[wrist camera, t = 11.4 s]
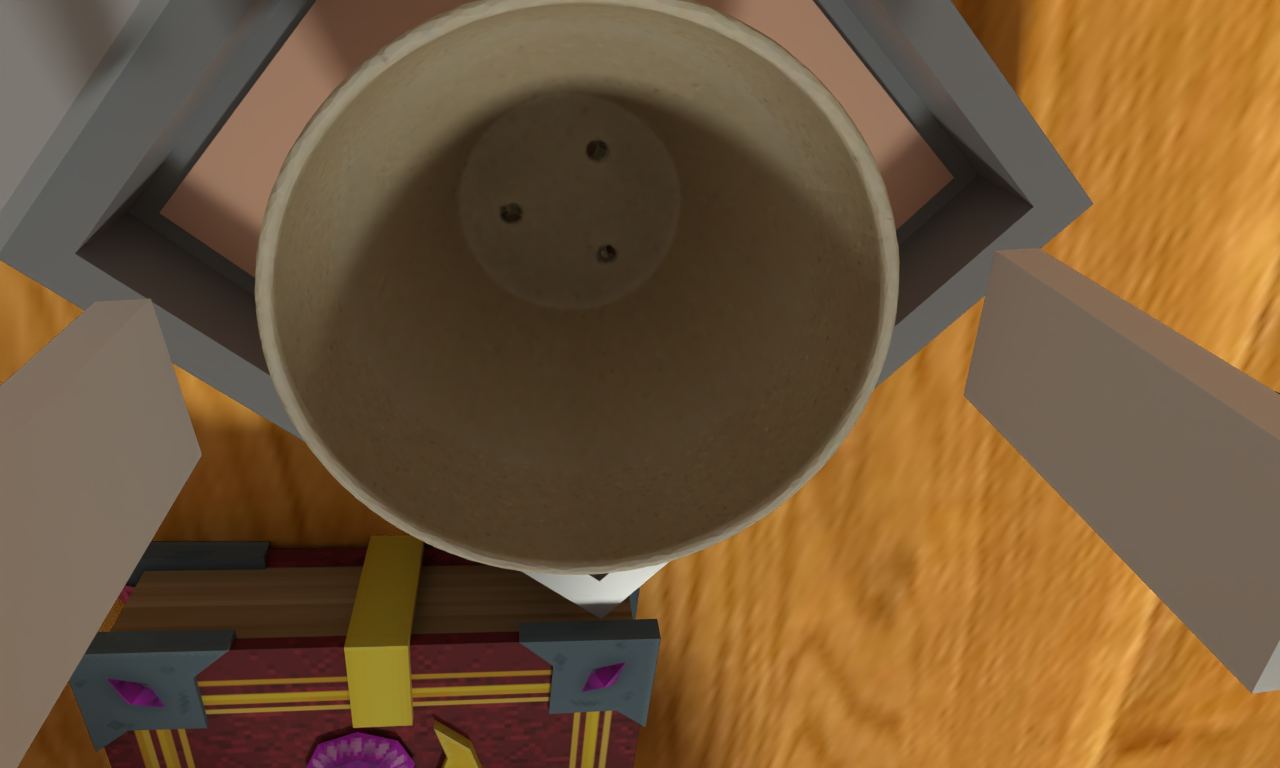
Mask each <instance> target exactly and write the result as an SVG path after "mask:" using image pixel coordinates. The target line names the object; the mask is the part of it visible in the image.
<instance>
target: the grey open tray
mask: <svg viewBox="0 0 1280 768" xmlns="http://www.w3.org/2000/svg"><path fill="white" fill-rule="evenodd" d="M471 1H474V0H0V260H1V261H3V262H4V263H6V264H8V265H9V266H11V267H13V268H14V269H16V270H18V271H19V272H21V273H23V274H25V275H26V276H28V277H30V278H31V279H33V280H35V281H36V282H38V283H40V284H41V285H43V286H45V287H46V288H48V289H50V290H51V291H53V292H55V293H56V294H58V295H60V296H61V297H63V298H65V299H66V300H68V301H70V302H71V303H73V304H75V305H76V306H78V307H80V308H81V309H83V310H86V309H87V308H88V307H90V306H91V305H92V304H93V303H94V302H100V301H117V300H135V299H151V301H152V304H153V307H154V310H155V313H156V316H157V319H158V322H159V325H160V328H161V331H162V334H163V337H164V340H165V343H166V346H167V349H168V352H169V356H170V359H171V362H172V363H173V364H175V365H177V366H178V367H180V368H182V369H184V370H185V371H187V372H189V373H190V374H192V375H194V376H195V377H197V378H199V379H200V380H202V381H204V382H205V383H207V384H209V385H210V386H212V387H214V388H215V389H217V390H219V391H220V392H222V393H224V394H225V395H227V396H229V397H230V398H232V399H234V400H235V401H237V402H239V403H240V404H242V405H244V406H245V407H247V408H249V409H250V410H252V411H254V412H255V413H257V414H259V415H260V416H262V417H264V418H266V419H267V420H269V421H271V422H272V423H274V424H276V425H277V426H279V427H281V428H282V429H284V430H286V431H287V432H289V433H291V434H292V435H294V436H296V437H297V438H299V439H301V440H302V441H304V440H303V438H302V437H301V435H300V434H299V432H298V430H297V429H296V427H295V426H294V425H293V423H292V421H291V420H290V418H289V416H288V414H287V413H286V411H285V409H284V407H283V406H282V404H281V401H280V399H279V396H278V393H277V391H276V389H275V387H274V384H273V382H272V379H271V376H270V373H269V370H268V367H267V363H266V360H265V357H264V353H263V349H262V342H261V340H260V335H259V329H258V322H257V315H256V303H255V271H256V253H257V248H258V242H259V236H260V230H261V224H262V221H263V217H264V213H265V209H266V205H267V202H268V199H269V196H270V194H271V191H272V188H273V185H274V183H275V181H276V179H277V177H278V174H279V172H280V169H281V166H282V164H283V162H284V160H285V158H286V156H287V155H288V153H289V151H290V149H291V148H292V146H293V144H294V143H295V141H296V140H297V138H298V137H299V135H300V133H301V132H302V130H303V129H304V127H305V125H306V124H307V122H308V121H309V120H310V119H311V117H312V116H313V115H314V113H315V112H316V111H317V110H318V108H319V107H320V106H321V104H322V103H323V102H324V101H325V100H326V98H327V97H328V96H329V95H330V94H331V92H332V91H333V90H334V89H335V88H336V87H337V86H338V85H339V84H340V83H341V82H342V81H343V80H344V79H345V78H346V77H347V76H348V75H349V74H350V73H351V72H352V71H354V70H355V69H356V68H357V67H358V66H359V65H360V64H361V63H363V62H364V61H365V60H366V59H367V58H368V57H370V56H371V55H372V54H374V53H375V52H376V51H378V50H379V49H380V48H382V47H383V46H385V45H386V44H387V43H389V42H390V41H392V40H393V39H395V38H397V37H398V36H400V35H402V34H403V33H405V32H406V31H408V30H410V29H411V28H413V27H414V26H416V25H418V24H420V23H422V22H424V21H426V20H428V19H430V18H431V17H433V16H436V15H438V14H441V13H443V12H446V11H448V10H450V9H453V8H455V7H457V6H459V5H462V4H465V3H468V2H471ZM693 1H696V2H700V3H703V4H705V5H708V6H710V7H713V8H715V9H717V10H720V11H722V12H724V13H726V14H728V15H730V16H732V17H734V18H736V19H738V20H740V21H742V22H744V23H746V24H748V25H750V26H751V27H753V28H755V29H757V30H759V31H760V32H762V33H763V34H765V35H767V36H768V37H770V38H771V39H773V40H774V41H776V42H777V43H778V44H780V45H781V46H782V47H784V48H785V49H787V50H788V51H789V52H790V53H791V54H792V55H793V56H794V57H795V58H797V59H798V60H799V61H800V62H801V63H803V64H804V65H805V66H806V67H807V68H809V69H810V70H811V71H812V72H813V73H814V74H815V75H816V76H817V78H818V79H819V80H820V81H821V82H822V83H823V84H824V85H825V86H826V87H827V88H828V89H829V90H830V91H831V93H832V94H833V95H834V97H835V98H836V99H837V100H838V101H839V102H840V103H841V105H842V106H843V108H844V109H845V111H846V112H847V113H848V114H849V116H850V117H851V118H852V120H853V121H854V123H855V124H856V126H857V128H858V129H859V131H860V133H861V134H862V136H863V138H864V139H865V141H866V143H867V145H868V147H869V149H870V151H871V153H872V155H873V157H874V159H875V161H876V164H877V166H878V169H879V171H880V174H881V176H882V178H883V181H884V184H885V187H886V189H887V193H888V196H889V200H890V204H891V207H892V211H893V216H894V221H895V228H896V237H897V241H898V246H899V262H900V263H899V295H898V302H897V313H896V320H895V325H894V329H893V334H892V339H891V343H890V346H889V349H888V353H887V356H886V360H885V363H884V366H883V368H882V371H881V373H880V376H879V378H878V381H877V383H876V385H875V388H876V387H877V386H878V385H879V384H880V383H882V382H883V381H884V380H885V379H886V378H888V377H889V376H890V375H891V374H892V373H893V372H895V371H896V370H897V369H898V368H899V367H901V366H902V365H903V364H904V363H905V362H907V361H908V360H909V359H910V358H911V357H912V356H914V355H915V354H916V353H917V352H918V351H920V350H921V349H922V348H923V347H924V346H926V345H927V344H928V343H929V342H930V341H931V340H933V339H934V338H935V337H936V336H937V335H939V334H940V333H941V332H942V331H943V330H944V329H946V328H947V327H948V326H949V325H950V324H952V323H953V322H954V321H955V320H956V319H958V318H959V317H960V316H961V315H962V314H963V313H965V312H966V311H967V310H968V309H969V308H971V307H972V306H973V305H974V304H975V303H976V302H978V301H979V300H980V299H981V298H982V297H984V296H985V295H986V291H987V286H988V281H989V277H990V272H991V268H992V263H993V258H994V254H995V250H1012V249H1030V248H1042V247H1043V246H1044V245H1045V244H1046V243H1048V242H1049V241H1050V240H1051V239H1052V238H1054V237H1055V236H1056V235H1057V234H1058V233H1059V232H1061V231H1062V230H1063V229H1064V228H1065V227H1067V226H1068V225H1069V224H1070V223H1071V222H1073V221H1074V220H1075V219H1076V218H1077V217H1078V216H1080V215H1081V214H1082V213H1083V212H1084V211H1086V210H1087V209H1088V208H1089V207H1090V206H1091V205H1093V203H1092V201H1091V200H1090V198H1089V197H1088V195H1087V194H1086V193H1085V191H1084V190H1083V188H1082V187H1081V185H1080V184H1079V183H1078V181H1077V180H1076V178H1075V177H1074V175H1073V174H1072V173H1071V171H1070V170H1069V168H1068V167H1067V165H1066V164H1065V163H1064V161H1063V160H1062V158H1061V157H1060V155H1059V154H1058V153H1057V151H1056V150H1055V148H1054V147H1053V145H1052V144H1051V143H1050V141H1049V140H1048V138H1047V137H1046V135H1045V134H1044V133H1043V131H1042V130H1041V128H1040V127H1039V125H1038V124H1037V123H1036V121H1035V120H1034V118H1033V117H1032V115H1031V114H1030V113H1029V111H1028V110H1027V108H1026V107H1025V106H1024V104H1023V103H1022V101H1021V100H1020V98H1019V97H1018V96H1017V94H1016V93H1015V91H1014V90H1013V88H1012V87H1011V86H1010V84H1009V83H1008V81H1007V80H1006V78H1005V77H1004V76H1003V74H1002V73H1001V71H1000V70H999V68H998V67H997V66H996V64H995V63H994V61H993V60H992V58H991V57H990V56H989V54H988V53H987V51H986V50H985V48H984V47H983V46H982V44H981V43H980V41H979V40H978V38H977V37H976V36H975V34H974V33H973V31H972V30H971V28H970V27H969V26H968V24H967V23H966V21H965V20H964V18H963V17H962V16H961V14H960V13H959V11H958V10H957V8H956V7H955V6H954V4H953V3H952V1H951V0H693ZM596 147H597V146H596V142H592V143H591V144H590V145H589V146H588V149H587V151H588V155H589V156H591V155H593V154H594V153H595V151H596ZM519 218H520V216H519V215H517V214H511V215H509V216H508V217H507V218H506V221H516V220H518V219H519ZM606 250H607V252H608V253H610V254H615V250H614V249H613V248H612V247H611V246H609V245H608V246H607V249H606ZM875 388H874V389H875ZM304 442H305V441H304ZM667 563H668V562H666V563H662V564H659V565H656V566H648V567H644V568H639V569H634V570H629V571H620V572H614V573H605V574H587V575H556V574H539V573H532V572H523V573H525V574H527V575H528V576H530V577H532V578H533V579H535V580H537V581H538V582H540V583H542V584H543V585H545V586H547V587H548V588H550V589H552V590H553V591H555V592H557V593H558V594H560V595H562V596H563V597H565V598H567V599H568V600H570V601H572V602H573V603H575V604H577V605H578V606H580V607H582V608H583V609H585V610H587V611H589V612H590V613H592V614H594V615H595V616H597V617H599V618H600V619H602V618H603V617H604V616H605V615H607V614H608V613H609V612H610V611H611V610H613V609H614V608H615V607H616V606H617V605H618V604H620V603H621V602H622V601H623V600H624V599H626V598H627V597H628V596H629V595H630V594H632V593H633V592H634V591H635V590H636V589H637V588H639V587H640V586H641V585H642V584H643V583H645V582H646V581H647V580H648V579H649V578H650V577H652V576H653V575H654V574H655V573H656V572H658V571H659V570H660V569H661V568H662V567H664V566H665V565H666V564H667Z"/></svg>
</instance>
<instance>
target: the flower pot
mask: <svg viewBox="0 0 1280 768" xmlns="http://www.w3.org/2000/svg"><path fill="white" fill-rule="evenodd" d="M592 142H596V146H597V147H596V151H595V153H594V154H593V155H591V156H589V155H588V151H587V149H588V146H589V145H590V144H591V143H592ZM511 214H517V215H519V216H520V218H519V219H518V220H516V221H506V218H507V217H508V216H509V215H511ZM608 245H609V246H611V247H612V248H613V249H614V250H615V254H610V253H608V252H607V250H606V249H607V246H608ZM899 263H900V262H899V246H898V241H897V237H896V228H895V221H894V216H893V211H892V207H891V204H890V200H889V196H888V193H887V189H886V187H885V184H884V181H883V178H882V176H881V174H880V171H879V169H878V166H877V164H876V161H875V159H874V157H873V155H872V153H871V151H870V149H869V147H868V145H867V143H866V141H865V139H864V138H863V136H862V134H861V133H860V131H859V129H858V128H857V126H856V124H855V123H854V121H853V120H852V118H851V117H850V116H849V114H848V113H847V112H846V111H845V109H844V108H843V106H842V105H841V103H840V102H839V101H838V100H837V99H836V98H835V97H834V95H833V94H832V93H831V91H830V90H829V89H828V88H827V87H826V86H825V85H824V84H823V83H822V82H821V81H820V80H819V79H818V78H817V76H816V75H815V74H814V73H813V72H812V71H811V70H810V69H809V68H807V67H806V66H805V65H804V64H803V63H801V62H800V61H799V60H798V59H797V58H795V57H794V56H793V55H792V54H791V53H790V52H789V51H788V50H787V49H785V48H784V47H782V46H781V45H780V44H778V43H777V42H776V41H774V40H773V39H771V38H770V37H768V36H767V35H765V34H763V33H762V32H760V31H759V30H757V29H755V28H753V27H751V26H750V25H748V24H746V23H744V22H742V21H740V20H738V19H736V18H734V17H732V16H730V15H728V14H726V13H724V12H722V11H720V10H717V9H715V8H713V7H710V6H708V5H705V4H703V3H700V2H696V1H693V0H474V1H471V2H468V3H465V4H462V5H459V6H457V7H455V8H453V9H450V10H448V11H446V12H443V13H441V14H438V15H436V16H433V17H431V18H430V19H428V20H426V21H424V22H422V23H420V24H418V25H416V26H414V27H413V28H411V29H410V30H408V31H406V32H405V33H403V34H402V35H400V36H398V37H397V38H395V39H393V40H392V41H390V42H389V43H387V44H386V45H385V46H383V47H382V48H380V49H379V50H378V51H376V52H375V53H374V54H372V55H371V56H370V57H368V58H367V59H366V60H365V61H364V62H363V63H361V64H360V65H359V66H358V67H357V68H356V69H355V70H354V71H352V72H351V73H350V74H349V75H348V76H347V77H346V78H345V79H344V80H343V81H342V82H341V83H340V84H339V85H338V86H337V87H336V88H335V89H334V90H333V91H332V92H331V94H330V95H329V96H328V97H327V98H326V100H325V101H324V102H323V103H322V104H321V106H320V107H319V108H318V110H317V111H316V112H315V113H314V115H313V116H312V117H311V119H310V120H309V121H308V122H307V124H306V125H305V127H304V129H303V130H302V132H301V133H300V135H299V137H298V138H297V140H296V141H295V143H294V144H293V146H292V148H291V149H290V151H289V153H288V155H287V156H286V158H285V160H284V162H283V164H282V166H281V169H280V172H279V174H278V177H277V179H276V181H275V183H274V185H273V188H272V191H271V194H270V196H269V199H268V202H267V205H266V209H265V213H264V217H263V221H262V224H261V230H260V236H259V242H258V248H257V253H256V271H255V303H256V315H257V322H258V329H259V335H260V340H261V342H262V349H263V353H264V357H265V360H266V363H267V367H268V370H269V373H270V376H271V379H272V382H273V384H274V387H275V389H276V391H277V393H278V396H279V399H280V401H281V404H282V406H283V407H284V409H285V411H286V413H287V414H288V416H289V418H290V420H291V421H292V423H293V425H294V426H295V427H296V429H297V430H298V432H299V434H300V435H301V437H302V438H303V440H304V441H305V443H306V444H307V446H308V447H309V448H310V450H311V451H312V452H313V454H314V455H315V456H316V457H317V458H318V460H319V461H320V462H321V463H322V464H323V465H324V467H325V468H326V469H327V470H328V471H329V472H330V474H331V475H332V476H333V477H334V478H335V479H336V480H337V481H338V482H339V483H340V484H341V485H342V486H343V487H344V488H345V489H347V490H348V491H349V492H350V493H351V494H352V495H353V496H354V497H355V498H356V499H358V500H359V501H360V502H362V503H363V504H364V505H366V506H367V507H368V508H369V509H370V510H372V511H373V512H375V513H376V514H378V515H379V516H380V517H382V518H383V519H385V520H386V521H388V522H389V523H391V524H393V525H394V526H396V527H397V528H399V529H401V530H403V531H404V532H406V533H408V534H410V535H412V536H414V537H415V538H417V539H419V540H422V541H424V542H425V543H427V544H429V545H431V546H434V547H436V548H438V549H440V550H444V551H446V552H448V553H451V554H454V555H457V556H460V557H463V558H465V559H468V560H471V561H475V562H480V563H483V564H487V565H490V566H495V567H500V568H505V569H511V570H517V571H522V572H532V573H539V574H556V575H587V574H605V573H614V572H620V571H629V570H634V569H639V568H644V567H648V566H656V565H659V564H662V563H666V562H670V561H673V560H676V559H679V558H683V557H685V556H688V555H691V554H693V553H696V552H698V551H701V550H704V549H706V548H708V547H710V546H712V545H714V544H717V543H719V542H722V541H724V540H726V539H728V538H730V537H732V536H734V535H736V534H738V533H739V532H741V531H743V530H744V529H746V528H747V527H749V526H751V525H752V524H754V523H755V522H757V521H758V520H760V519H762V518H764V517H765V516H767V515H768V514H770V513H771V512H772V511H774V510H775V509H776V508H778V507H779V506H781V505H782V504H783V503H784V502H785V501H787V500H788V499H789V498H790V497H791V496H793V495H794V494H795V493H796V492H797V491H799V490H800V489H801V488H802V487H803V486H804V485H805V484H806V483H807V482H808V481H809V480H810V479H811V478H812V477H813V476H814V475H815V474H816V473H817V472H818V471H819V470H820V469H821V468H822V467H823V466H824V465H825V464H826V462H827V461H828V460H829V459H830V458H831V457H832V455H833V454H834V453H835V452H836V450H837V449H838V448H839V446H840V445H841V444H842V442H843V441H844V440H845V439H846V437H847V436H848V434H849V432H850V431H851V430H852V428H853V427H854V425H855V424H856V422H857V420H858V419H859V417H860V415H861V413H862V411H863V409H864V407H865V406H866V404H867V402H868V400H869V398H870V396H871V394H872V392H873V390H874V388H875V385H876V383H877V381H878V378H879V376H880V373H881V371H882V368H883V366H884V363H885V360H886V356H887V353H888V349H889V346H890V343H891V339H892V334H893V329H894V325H895V320H896V313H897V302H898V295H899Z"/></svg>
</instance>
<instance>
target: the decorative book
mask: <svg viewBox="0 0 1280 768" xmlns="http://www.w3.org/2000/svg"><path fill="white" fill-rule="evenodd" d="M269 544H270V542H150V544H149V546H148V547H147V549H146V551H145V552H144V554H143V556H142V557H141V559H140V561H139V562H138V564H137V566H136V568H135V569H134V571H133V573H132V574H131V576H130V578H129V579H128V581H127V583H126V586H124V588H123V589H122V591H121V593H120V595H119V596H118V598H119V599H120V600H121V601H123V602H124V603H126V604H125V606H124V608H123V610H122V611H121V613H120V615H119V617H118V619H117V620H116V622H115V624H114V626H113V627H112V629H111V631H110V632H97V633H96V635H95V637H94V639H93V640H92V642H91V644H90V645H89V647H88V649H87V650H86V652H85V654H84V655H83V657H82V659H81V661H80V662H79V664H78V666H77V667H76V669H75V671H74V672H73V674H72V676H71V677H70V679H69V682H70V685H71V688H72V690H73V693H74V695H75V698H76V701H77V703H78V706H79V709H80V711H81V714H82V717H83V719H84V722H85V724H86V727H87V730H88V732H89V735H90V738H91V740H92V743H93V746H94V748H95V751H96V752H97V751H98V750H100V749H101V748H103V747H105V750H106V753H107V755H108V758H109V761H110V764H111V767H112V768H633V766H634V759H635V752H636V746H637V739H638V733H639V726H640V724H641V725H642V726H644V727H646V722H647V716H648V710H649V704H650V698H651V692H652V686H653V681H654V675H655V669H656V663H657V657H658V651H659V645H660V639H661V638H660V633H659V627H658V622H657V619H640V620H635V617H636V610H637V603H638V595H639V588H640V587H639V588H637V589H636V590H635V591H634V592H633V593H632V594H630V595H629V596H628V597H627V598H626V599H624V600H623V601H622V602H621V603H620V604H618V605H617V606H616V607H615V608H614V609H613V610H611V611H610V612H609V613H608V614H607V615H605V616H604V617H603V618H602V619H600V618H599V617H597V616H595V615H594V614H592V613H590V612H589V611H587V610H585V609H583V608H582V607H580V606H578V605H577V604H575V603H573V602H572V601H570V600H568V599H567V598H565V597H563V596H562V595H560V594H558V593H557V592H555V591H553V590H552V589H550V588H548V587H547V586H545V585H543V584H542V583H540V582H538V581H537V580H535V579H533V578H532V577H530V576H528V575H527V574H525V573H523V572H522V571H517V570H511V569H505V568H500V567H495V566H490V565H487V564H483V563H480V562H475V561H471V560H468V559H465V558H463V557H460V556H457V555H454V554H451V553H448V552H446V551H444V550H440V549H438V548H425V542H424V541H422V540H419V539H417V538H415V537H414V536H412V535H391V536H370V540H369V545H368V548H348V549H269Z"/></svg>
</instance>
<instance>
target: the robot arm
mask: <svg viewBox="0 0 1280 768" xmlns="http://www.w3.org/2000/svg"><path fill="white" fill-rule="evenodd" d="M964 396H965V397H966V398H967V399H968V400H969V401H970V402H971V403H972V404H973V405H974V406H975V407H976V408H977V410H978V411H979V412H980V413H981V414H982V415H983V416H984V417H985V418H986V419H987V420H988V421H989V422H990V423H991V424H992V425H993V426H994V427H995V428H996V429H997V430H998V431H999V432H1000V433H1001V434H1002V435H1003V436H1004V438H1005V439H1006V440H1007V441H1008V442H1009V443H1010V444H1011V445H1012V446H1013V447H1014V448H1015V449H1016V450H1017V451H1018V452H1019V453H1020V454H1021V455H1022V456H1023V457H1024V458H1025V459H1026V460H1027V461H1028V462H1029V463H1030V464H1031V465H1032V467H1033V468H1034V469H1035V470H1036V471H1037V472H1038V473H1039V474H1040V475H1041V476H1042V477H1043V478H1044V479H1045V480H1046V481H1047V482H1048V483H1049V484H1050V485H1051V486H1052V487H1053V488H1054V489H1055V490H1056V491H1057V492H1058V493H1059V495H1060V496H1061V497H1062V498H1063V499H1064V500H1065V501H1066V502H1067V503H1068V504H1069V505H1070V506H1071V507H1072V508H1073V509H1074V510H1075V511H1076V512H1077V513H1078V514H1079V515H1080V516H1081V517H1082V518H1083V519H1084V520H1085V521H1086V522H1087V524H1088V525H1089V526H1090V527H1091V528H1092V529H1093V530H1094V531H1095V532H1096V533H1097V534H1098V535H1099V536H1100V537H1101V538H1102V539H1103V540H1104V541H1105V542H1106V543H1107V544H1108V545H1109V546H1110V547H1111V548H1112V549H1113V550H1114V551H1115V553H1116V554H1117V555H1118V556H1119V557H1120V558H1121V559H1122V560H1123V561H1124V562H1125V563H1126V564H1127V565H1128V566H1129V567H1130V568H1131V569H1132V570H1133V571H1134V572H1135V573H1136V574H1137V575H1138V576H1139V577H1140V578H1141V579H1142V581H1143V582H1144V583H1145V584H1146V585H1147V586H1148V587H1149V588H1150V589H1151V590H1152V591H1153V592H1154V593H1155V594H1156V595H1157V596H1158V597H1159V598H1160V599H1161V600H1162V601H1163V602H1164V603H1165V604H1166V605H1167V606H1168V607H1169V608H1170V610H1171V611H1172V612H1173V613H1174V614H1175V615H1176V616H1177V617H1178V618H1179V619H1180V620H1181V621H1182V622H1183V623H1184V624H1185V625H1186V626H1187V627H1188V628H1189V629H1190V630H1191V631H1192V632H1193V633H1194V634H1195V635H1196V636H1197V637H1198V639H1199V640H1200V641H1201V642H1202V643H1203V644H1204V645H1205V646H1206V647H1207V648H1208V649H1209V650H1210V651H1211V652H1212V653H1213V654H1214V655H1215V656H1216V657H1217V658H1218V659H1219V660H1220V661H1221V662H1222V663H1223V664H1224V665H1225V667H1226V668H1227V669H1228V670H1229V671H1230V672H1231V673H1232V674H1233V675H1234V676H1235V677H1236V678H1237V679H1238V680H1239V681H1240V682H1241V683H1242V684H1243V685H1244V686H1245V687H1246V688H1247V689H1248V690H1249V691H1250V692H1251V693H1259V692H1267V691H1274V690H1280V393H1278V392H1276V391H1273V390H1271V389H1270V388H1268V387H1267V386H1265V385H1263V384H1262V383H1260V382H1258V381H1257V380H1255V379H1253V378H1252V377H1250V376H1248V375H1247V374H1245V373H1244V372H1242V371H1240V370H1239V369H1237V368H1235V367H1234V366H1232V365H1230V364H1229V363H1227V362H1225V361H1224V360H1222V359H1220V358H1219V357H1217V356H1216V355H1214V354H1212V353H1211V352H1209V351H1207V350H1206V349H1204V348H1202V347H1201V346H1199V345H1197V344H1196V343H1194V342H1193V341H1191V340H1189V339H1188V338H1186V337H1184V336H1183V335H1181V334H1179V333H1178V332H1176V331H1174V330H1173V329H1171V328H1169V327H1168V326H1166V325H1165V324H1163V323H1161V322H1160V321H1158V320H1156V319H1155V318H1153V317H1151V316H1150V315H1148V314H1146V313H1145V312H1143V311H1142V310H1140V309H1138V308H1137V307H1135V306H1133V305H1132V304H1130V303H1128V302H1127V301H1125V300H1123V299H1122V298H1120V297H1118V296H1117V295H1115V294H1114V293H1112V292H1110V291H1109V290H1107V289H1105V288H1104V287H1102V286H1100V285H1099V284H1097V283H1095V282H1094V281H1092V280H1091V279H1089V278H1087V277H1086V276H1084V275H1082V274H1081V273H1079V272H1077V271H1076V270H1074V269H1072V268H1071V267H1069V266H1068V265H1066V264H1064V263H1063V262H1061V261H1059V260H1058V259H1056V258H1054V257H1053V256H1051V255H1049V254H1048V253H1046V252H1044V251H1043V250H1041V249H1040V248H1030V249H1012V250H995V254H994V258H993V263H992V268H991V272H990V277H989V281H988V286H987V291H986V295H985V300H984V304H983V309H982V313H981V318H980V323H979V327H978V332H977V336H976V341H975V346H974V350H973V355H972V359H971V364H970V368H969V373H968V378H967V382H966V387H965V391H964ZM201 456H202V453H201V450H200V447H199V444H198V441H197V438H196V435H195V432H194V429H193V426H192V422H191V419H190V416H189V413H188V410H187V407H186V404H185V401H184V398H183V395H182V392H181V389H180V386H179V383H178V380H177V377H176V374H175V371H174V368H173V365H172V362H171V359H170V356H169V352H168V349H167V346H166V343H165V340H164V337H163V334H162V331H161V328H160V325H159V322H158V319H157V316H156V313H155V310H154V307H153V304H152V301H151V299H135V300H117V301H100V302H94V303H93V304H92V305H91V306H90V307H88V308H87V309H86V310H85V311H84V312H83V313H82V314H81V315H80V316H78V317H77V318H76V319H75V320H74V321H73V322H72V323H71V324H69V325H68V326H67V327H66V328H65V329H64V330H63V331H62V332H60V333H59V334H58V335H57V336H56V337H55V338H54V339H53V340H51V341H50V342H49V343H48V344H47V345H46V346H45V347H44V348H43V349H41V350H40V351H39V352H38V353H37V354H36V355H35V356H34V357H32V358H31V359H30V360H29V361H28V362H27V363H26V364H25V365H23V366H22V367H21V368H20V369H19V370H18V371H17V372H16V373H14V374H13V375H12V376H11V377H10V378H9V379H8V380H7V381H6V382H4V383H3V384H2V385H1V386H0V768H17V767H18V765H19V764H20V762H21V760H22V759H23V757H24V755H25V754H26V752H27V750H28V748H29V747H30V745H31V743H32V742H33V740H34V738H35V737H36V735H37V733H38V732H39V730H40V728H41V727H42V725H43V723H44V721H45V720H46V718H47V716H48V715H49V713H50V711H51V710H52V708H53V706H54V705H55V703H56V701H57V699H58V698H59V696H60V694H61V693H62V691H63V689H64V688H65V686H66V684H67V683H68V681H69V679H70V677H71V676H72V674H73V672H74V671H75V669H76V667H77V666H78V664H79V662H80V661H81V659H82V657H83V655H84V654H85V652H86V650H87V649H88V647H89V645H90V644H91V642H92V640H93V639H94V637H95V635H96V633H97V632H98V630H99V628H100V627H101V625H102V623H103V622H104V620H105V618H106V617H107V615H108V613H109V611H110V610H111V608H112V606H113V605H114V603H115V601H116V600H117V598H118V596H119V595H120V593H121V591H122V589H123V588H124V586H125V584H126V583H127V581H128V579H129V578H130V576H131V574H132V573H133V571H134V569H135V568H136V566H137V564H138V562H139V561H140V559H141V557H142V556H143V554H144V552H145V551H146V549H147V547H148V546H149V544H150V542H151V540H152V539H153V537H154V535H155V534H156V532H157V530H158V529H159V527H160V525H161V524H162V522H163V520H164V518H165V517H166V515H167V513H168V512H169V510H170V508H171V507H172V505H173V503H174V502H175V500H176V498H177V496H178V495H179V493H180V491H181V490H182V488H183V486H184V485H185V483H186V481H187V480H188V478H189V476H190V474H191V473H192V471H193V469H194V468H195V466H196V464H197V463H198V461H199V459H200V458H201Z"/></svg>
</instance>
